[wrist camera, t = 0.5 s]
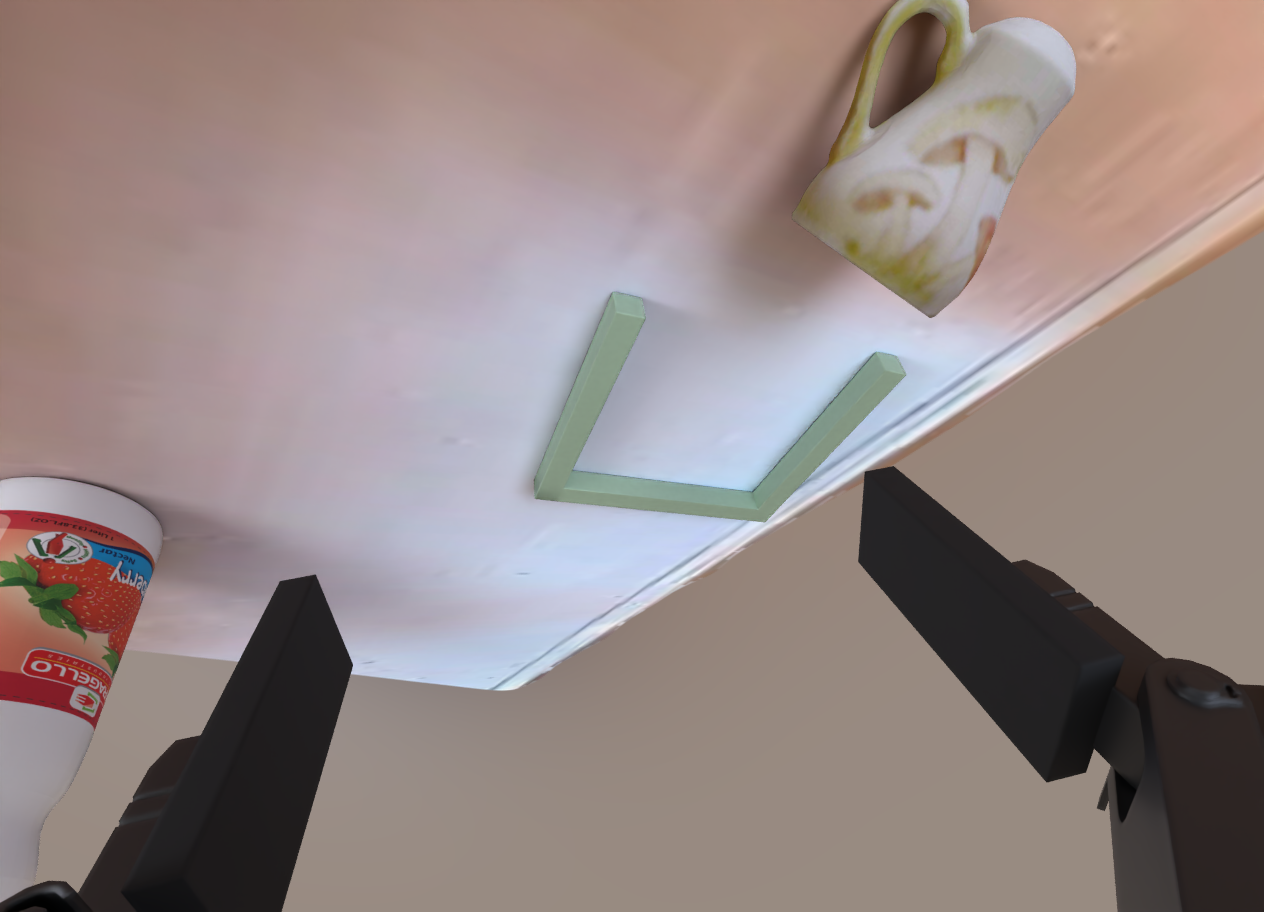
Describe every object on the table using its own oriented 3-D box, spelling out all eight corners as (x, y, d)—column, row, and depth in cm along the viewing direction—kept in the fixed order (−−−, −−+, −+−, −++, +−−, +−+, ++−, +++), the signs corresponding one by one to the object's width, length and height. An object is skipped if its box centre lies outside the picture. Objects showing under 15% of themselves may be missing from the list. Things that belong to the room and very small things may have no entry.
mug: (1090, 43, 23) (1113, 301, 22) (844, 153, 30) (850, 356, 29) (1036, -101, 18) (1061, 226, 17) (753, 72, 25) (756, 314, 24)
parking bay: (612, 290, 30) (615, 311, 29) (897, 355, 36) (907, 374, 35) (533, 479, 41) (534, 499, 40) (760, 505, 47) (765, 522, 46)
